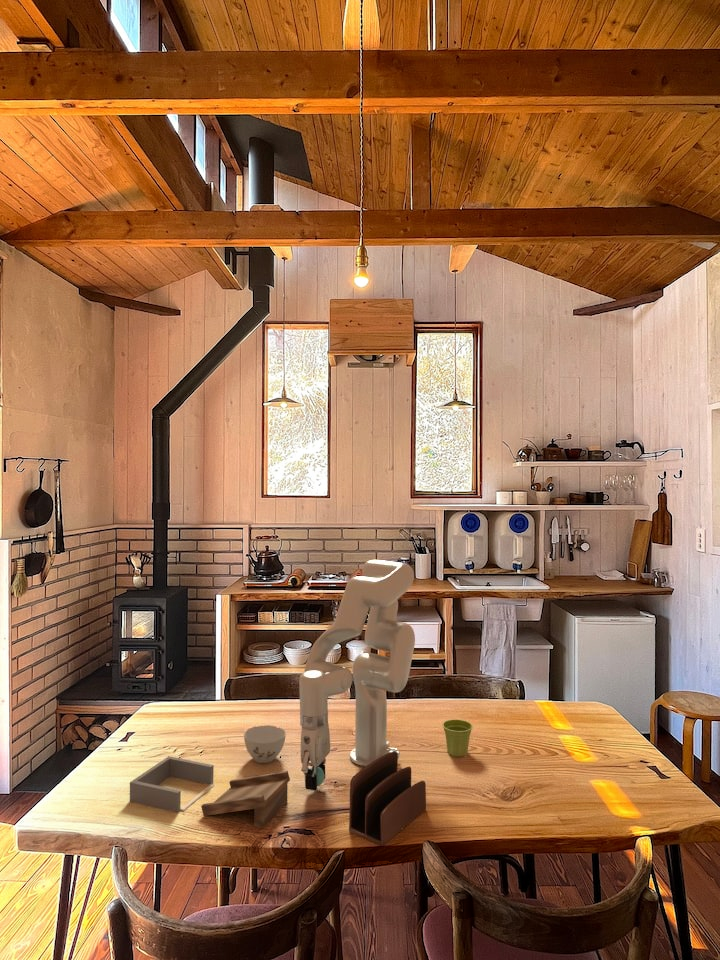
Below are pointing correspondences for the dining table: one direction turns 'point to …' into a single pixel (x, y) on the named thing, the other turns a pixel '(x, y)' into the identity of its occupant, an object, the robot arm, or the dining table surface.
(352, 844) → the dining table surface
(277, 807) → the walnut ramp
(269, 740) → the teacup
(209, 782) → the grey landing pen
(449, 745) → the plant pot
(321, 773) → the teal rubber ball
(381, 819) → the letter holder
